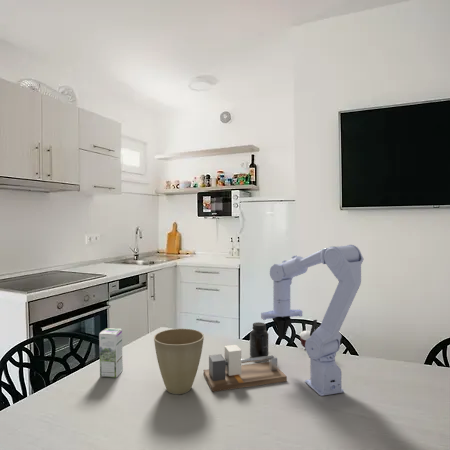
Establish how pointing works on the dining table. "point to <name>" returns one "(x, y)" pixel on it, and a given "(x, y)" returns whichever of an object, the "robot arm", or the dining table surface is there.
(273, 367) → the rail
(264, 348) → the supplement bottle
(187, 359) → the plant pot
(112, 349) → the syrup box
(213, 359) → the block
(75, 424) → the dining table surface
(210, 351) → the dining table surface
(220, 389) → the board
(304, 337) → the cocoa
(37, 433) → the dining table surface
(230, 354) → the sleeve
